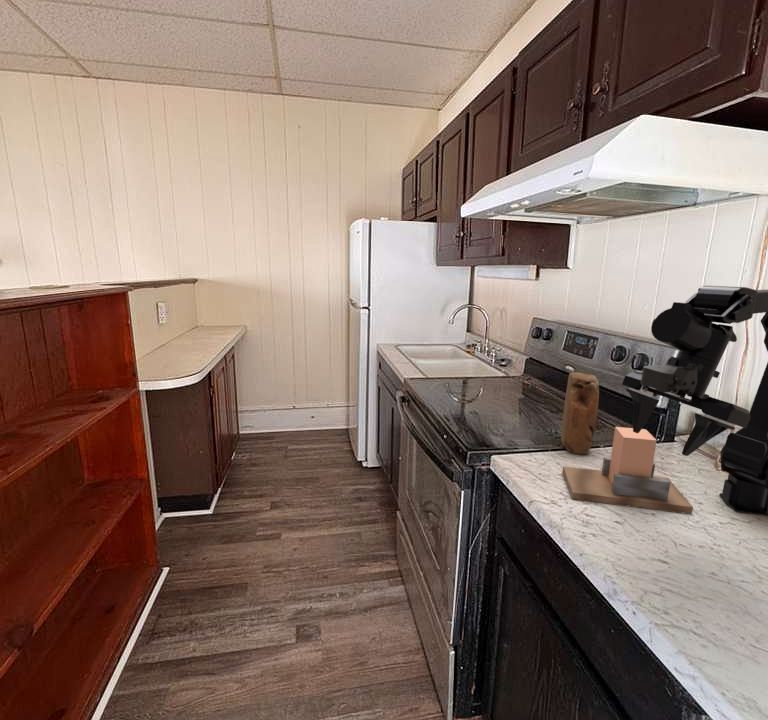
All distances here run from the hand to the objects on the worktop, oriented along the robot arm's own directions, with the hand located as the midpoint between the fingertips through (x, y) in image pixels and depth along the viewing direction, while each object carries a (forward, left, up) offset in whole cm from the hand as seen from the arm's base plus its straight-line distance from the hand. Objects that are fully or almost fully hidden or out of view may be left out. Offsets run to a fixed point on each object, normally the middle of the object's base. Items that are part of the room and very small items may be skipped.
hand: (658, 443), depth 72 cm
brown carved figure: (+4, -38, -18) cm, 42 cm away
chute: (-1, -16, -18) cm, 24 cm away
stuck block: (-2, -16, -16) cm, 23 cm away
